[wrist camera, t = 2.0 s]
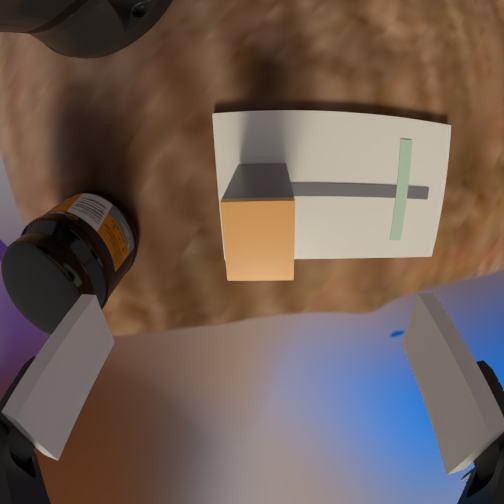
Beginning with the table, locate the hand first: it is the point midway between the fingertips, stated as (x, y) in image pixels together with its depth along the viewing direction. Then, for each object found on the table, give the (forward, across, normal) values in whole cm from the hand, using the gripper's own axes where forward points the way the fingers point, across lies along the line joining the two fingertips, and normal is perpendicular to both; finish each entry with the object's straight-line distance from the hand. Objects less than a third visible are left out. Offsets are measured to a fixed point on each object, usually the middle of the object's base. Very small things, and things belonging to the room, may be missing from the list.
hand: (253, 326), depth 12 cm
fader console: (+18, +7, 0) cm, 19 cm away
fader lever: (+17, 0, 0) cm, 17 cm away
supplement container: (+18, -18, -4) cm, 26 cm away
